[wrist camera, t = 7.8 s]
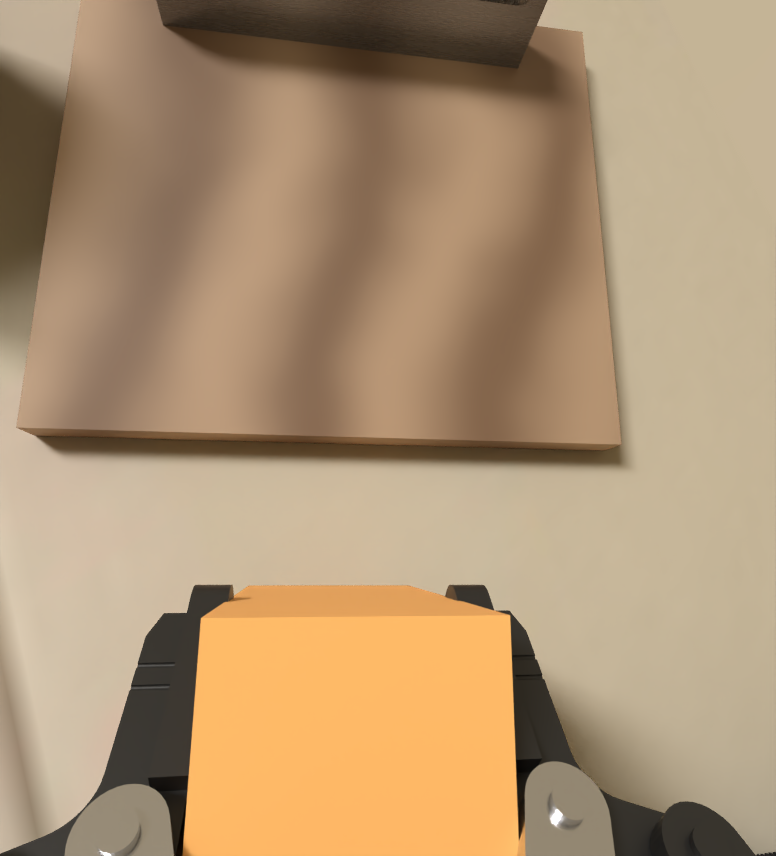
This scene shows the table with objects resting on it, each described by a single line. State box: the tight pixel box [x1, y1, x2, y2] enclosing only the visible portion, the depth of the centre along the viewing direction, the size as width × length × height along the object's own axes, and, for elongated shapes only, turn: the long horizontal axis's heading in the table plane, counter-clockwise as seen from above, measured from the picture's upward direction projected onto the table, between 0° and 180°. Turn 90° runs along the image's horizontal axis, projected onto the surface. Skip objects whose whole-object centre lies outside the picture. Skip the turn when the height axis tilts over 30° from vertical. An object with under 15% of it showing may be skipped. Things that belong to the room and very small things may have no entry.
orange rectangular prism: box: [183, 586, 519, 856], centre depth 11 cm, size 4×4×8 cm
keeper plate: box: [16, 0, 621, 451], centre depth 19 cm, size 20×18×5 cm
